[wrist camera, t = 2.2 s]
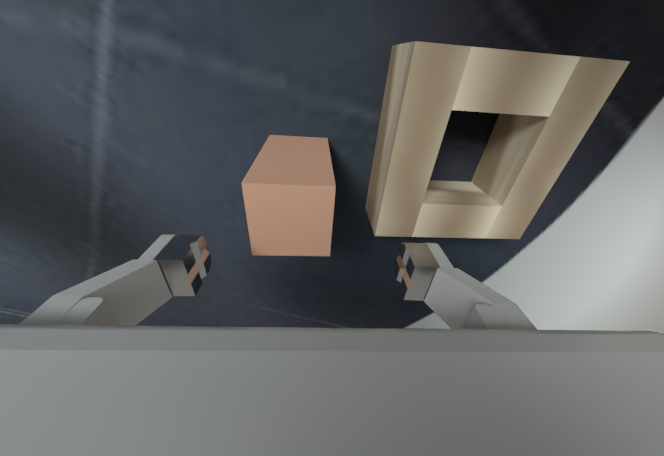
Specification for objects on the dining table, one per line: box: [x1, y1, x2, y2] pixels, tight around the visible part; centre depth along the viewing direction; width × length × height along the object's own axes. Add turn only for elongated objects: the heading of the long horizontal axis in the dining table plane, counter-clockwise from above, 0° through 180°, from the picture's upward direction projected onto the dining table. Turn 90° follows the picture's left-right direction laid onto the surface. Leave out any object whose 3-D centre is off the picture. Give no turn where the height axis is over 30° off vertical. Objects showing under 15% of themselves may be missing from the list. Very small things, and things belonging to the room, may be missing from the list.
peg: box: [242, 135, 336, 256], centre depth 15 cm, size 4×4×8 cm
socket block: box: [365, 41, 630, 239], centre depth 16 cm, size 11×11×4 cm
